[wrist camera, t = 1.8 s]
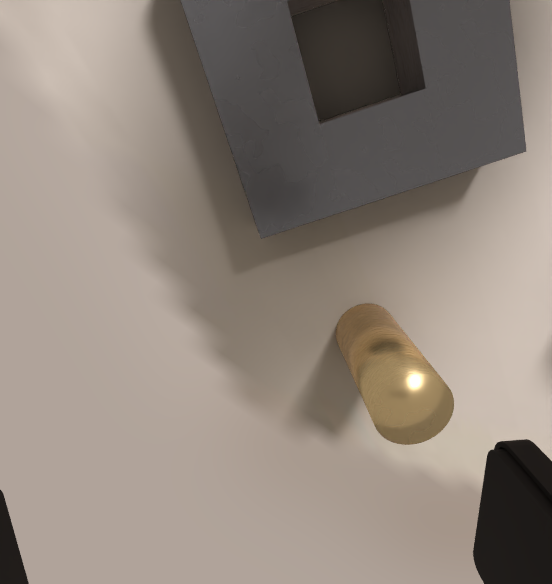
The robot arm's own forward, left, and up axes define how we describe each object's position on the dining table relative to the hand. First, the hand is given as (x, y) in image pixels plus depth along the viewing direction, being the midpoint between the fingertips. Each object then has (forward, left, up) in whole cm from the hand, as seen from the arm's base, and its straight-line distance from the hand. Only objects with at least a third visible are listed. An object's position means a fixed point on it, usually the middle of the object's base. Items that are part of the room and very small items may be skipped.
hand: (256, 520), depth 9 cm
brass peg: (-6, +9, -23) cm, 26 cm away
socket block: (-9, -9, -23) cm, 26 cm away
